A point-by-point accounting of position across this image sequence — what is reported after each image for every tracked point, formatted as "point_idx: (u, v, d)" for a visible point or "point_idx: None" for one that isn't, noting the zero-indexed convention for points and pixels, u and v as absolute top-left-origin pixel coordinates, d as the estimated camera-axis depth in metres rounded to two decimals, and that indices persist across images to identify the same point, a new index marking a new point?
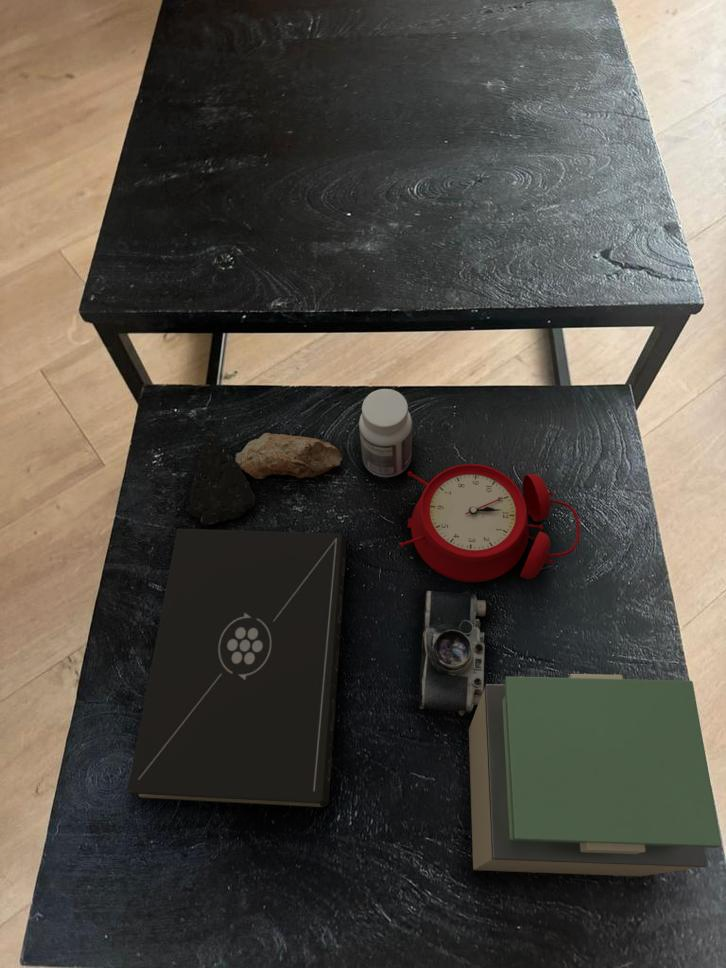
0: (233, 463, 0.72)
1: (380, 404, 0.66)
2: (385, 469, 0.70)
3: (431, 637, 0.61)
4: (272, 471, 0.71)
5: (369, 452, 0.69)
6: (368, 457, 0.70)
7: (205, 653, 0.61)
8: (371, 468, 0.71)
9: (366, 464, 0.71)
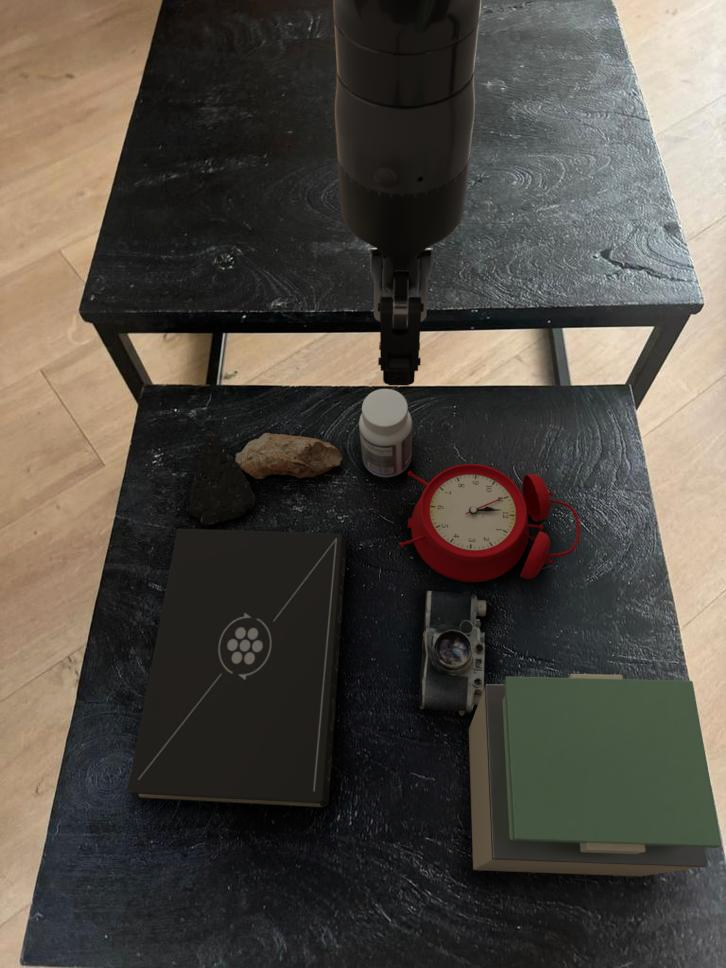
0: (233, 463, 0.72)
1: (380, 404, 0.66)
2: (385, 469, 0.70)
3: (432, 637, 0.61)
4: (272, 471, 0.71)
5: (369, 452, 0.69)
6: (368, 457, 0.70)
7: (205, 653, 0.61)
8: (371, 468, 0.71)
9: (366, 464, 0.71)
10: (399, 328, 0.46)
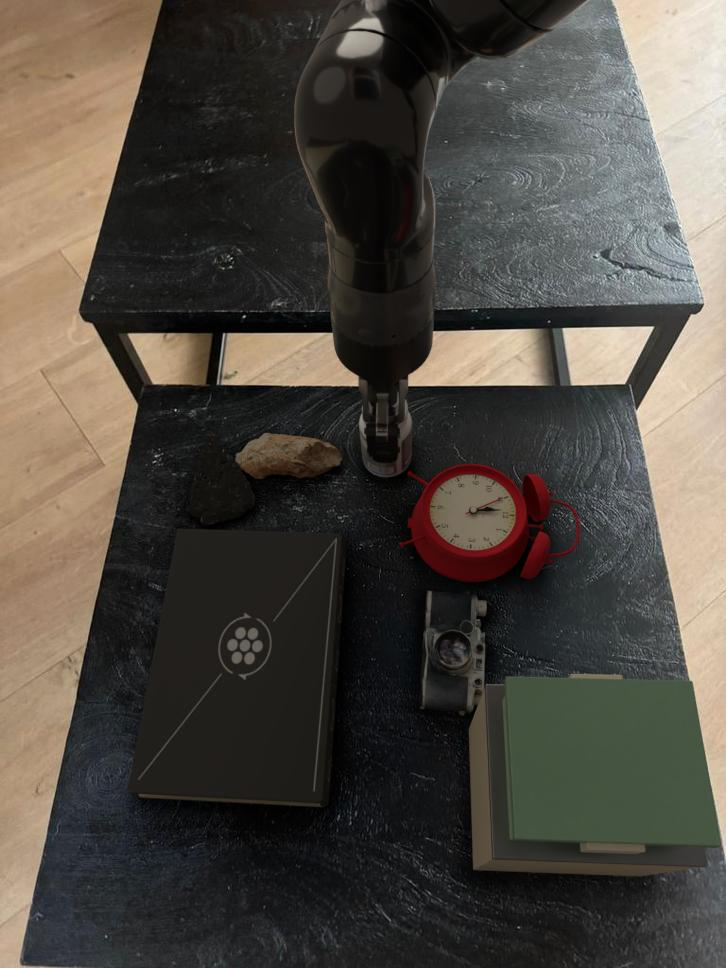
0: (233, 463, 0.72)
1: None
2: (385, 469, 0.70)
3: (432, 638, 0.61)
4: (272, 471, 0.71)
5: None
6: (368, 457, 0.70)
7: (205, 653, 0.61)
8: (371, 468, 0.71)
9: (366, 464, 0.71)
10: (381, 442, 0.59)
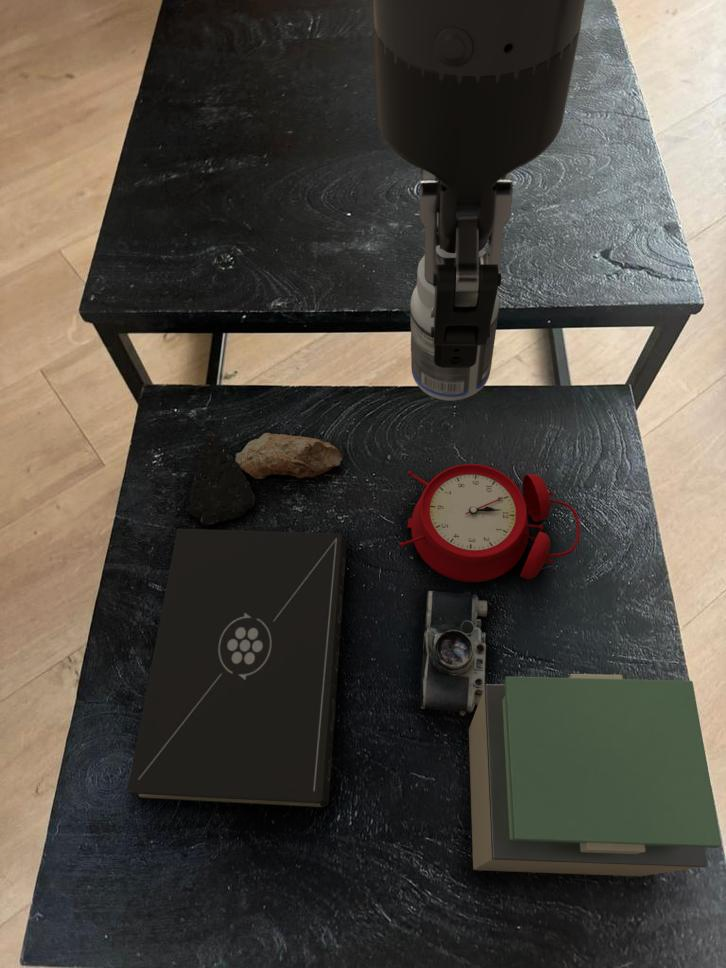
0: (233, 463, 0.72)
1: None
2: (450, 384, 0.43)
3: (433, 638, 0.61)
4: (272, 471, 0.71)
5: (425, 353, 0.42)
6: (424, 365, 0.43)
7: (205, 653, 0.61)
8: (427, 385, 0.44)
9: (419, 379, 0.44)
10: (463, 306, 0.32)
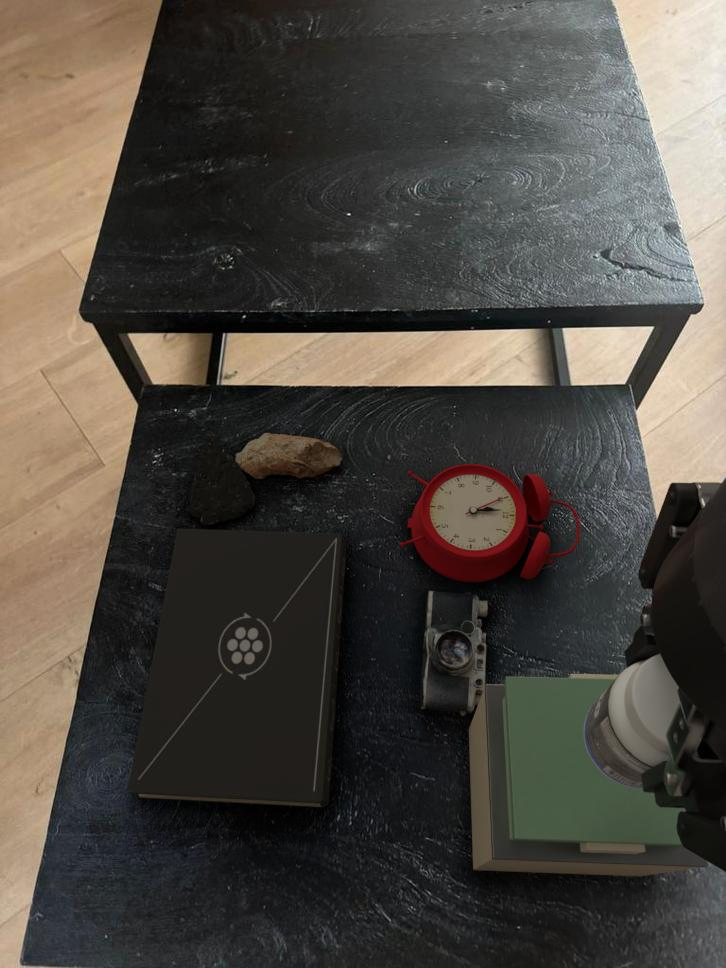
0: (233, 463, 0.72)
1: (673, 690, 0.31)
2: None
3: (433, 638, 0.61)
4: (272, 471, 0.71)
5: (623, 763, 0.34)
6: (616, 766, 0.35)
7: (205, 653, 0.61)
8: (611, 775, 0.36)
9: (600, 764, 0.36)
10: None
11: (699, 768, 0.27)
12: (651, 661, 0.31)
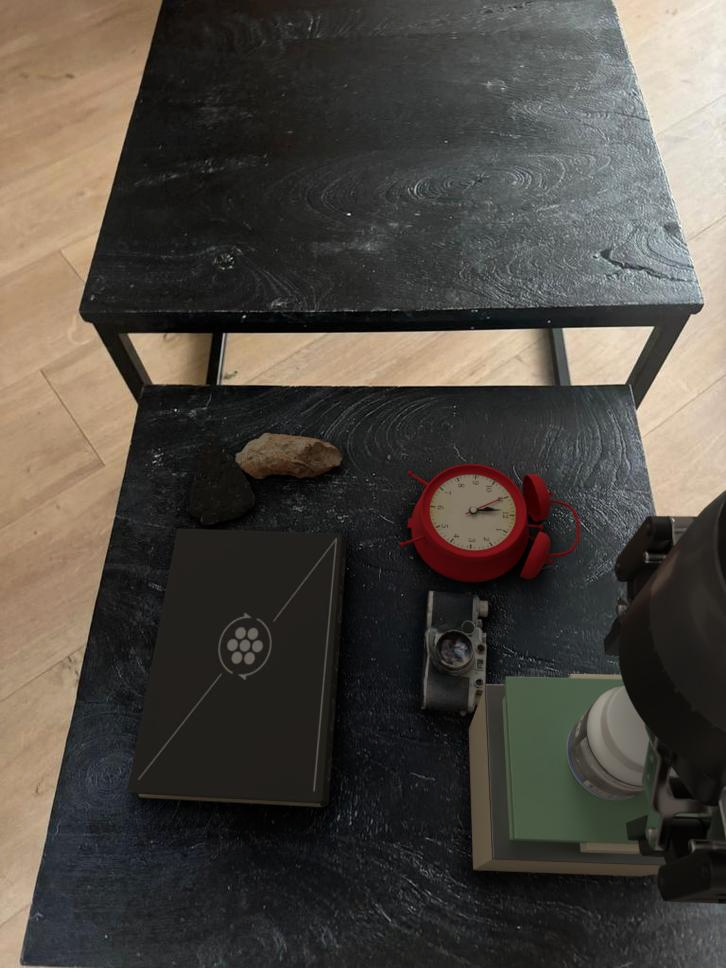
0: (233, 463, 0.72)
1: None
2: (620, 796, 0.39)
3: (434, 638, 0.61)
4: (272, 471, 0.71)
5: (601, 779, 0.38)
6: (594, 781, 0.39)
7: (205, 653, 0.61)
8: (591, 788, 0.40)
9: (580, 778, 0.40)
10: None
11: (674, 809, 0.29)
12: (624, 689, 0.35)
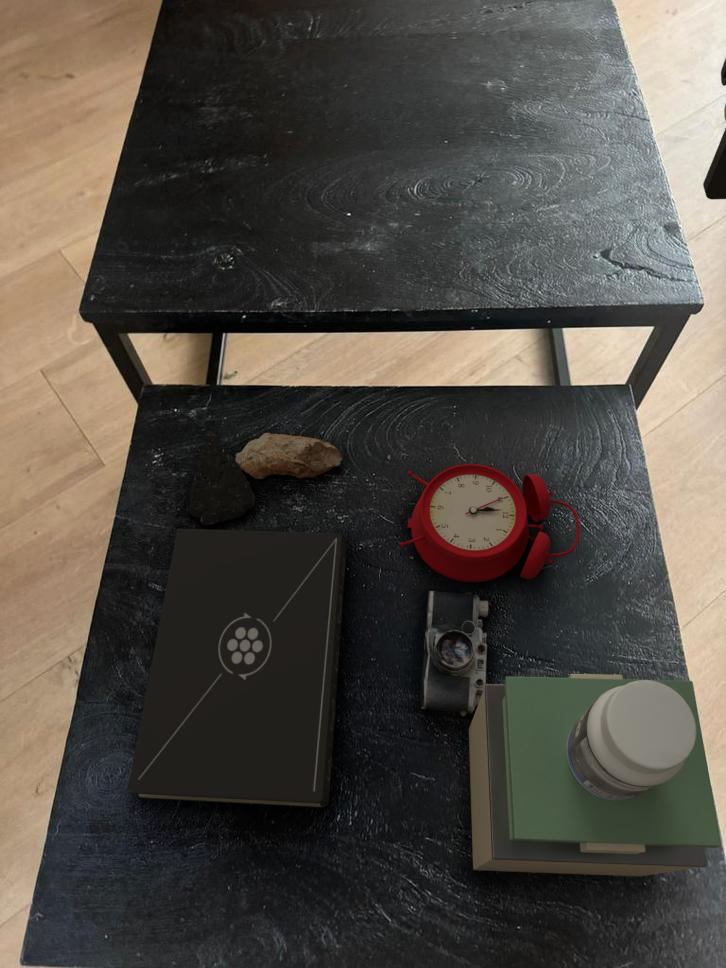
0: (233, 463, 0.72)
1: (643, 715, 0.35)
2: (620, 796, 0.39)
3: (434, 638, 0.61)
4: (272, 471, 0.71)
5: (601, 779, 0.38)
6: (594, 781, 0.39)
7: (205, 653, 0.61)
8: (591, 788, 0.40)
9: (580, 778, 0.40)
10: None
11: None
12: (624, 689, 0.35)
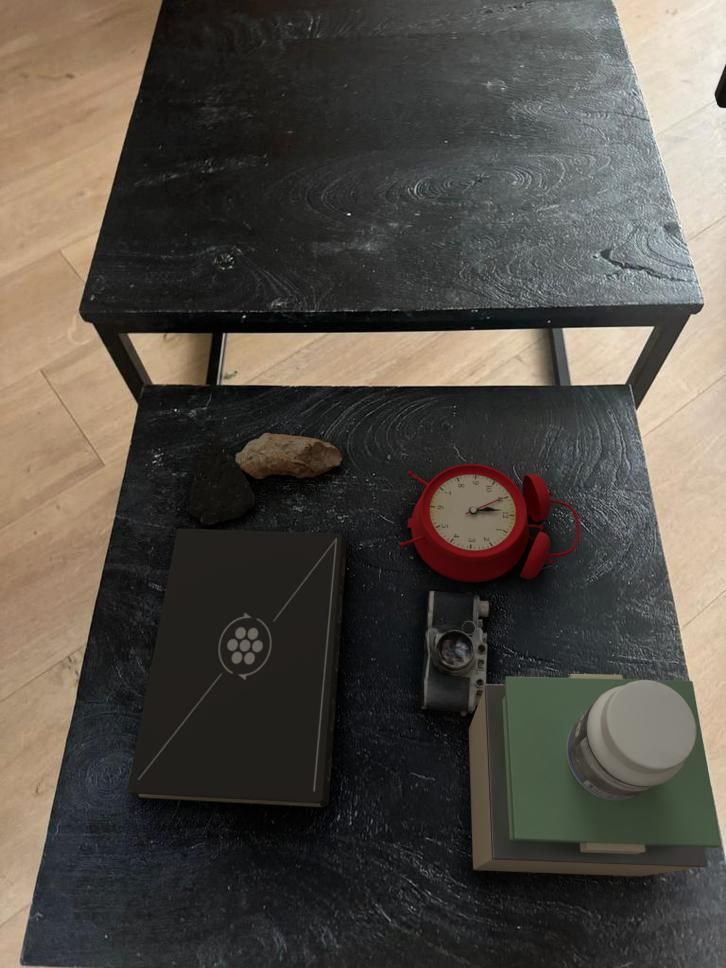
0: (233, 463, 0.72)
1: (643, 715, 0.35)
2: (620, 796, 0.39)
3: (434, 638, 0.61)
4: (272, 471, 0.71)
5: (601, 779, 0.38)
6: (594, 781, 0.39)
7: (205, 653, 0.61)
8: (591, 788, 0.40)
9: (580, 778, 0.40)
10: None
11: None
12: (624, 689, 0.35)
